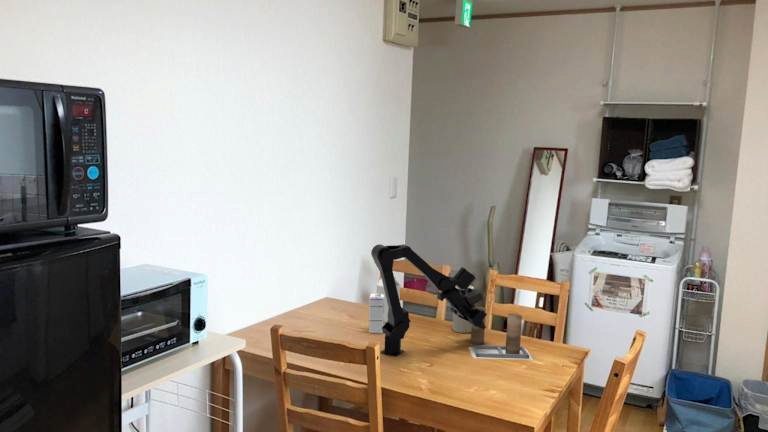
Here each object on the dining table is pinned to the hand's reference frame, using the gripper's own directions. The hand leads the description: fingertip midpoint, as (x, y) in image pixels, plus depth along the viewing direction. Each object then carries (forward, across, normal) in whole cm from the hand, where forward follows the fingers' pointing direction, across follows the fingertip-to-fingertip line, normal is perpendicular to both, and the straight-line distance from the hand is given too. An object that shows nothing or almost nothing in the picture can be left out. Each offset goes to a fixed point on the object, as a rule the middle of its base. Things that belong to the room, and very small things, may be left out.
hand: (481, 326), depth 238 cm
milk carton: (-11, +39, +21) cm, 46 cm away
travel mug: (+6, +18, +4) cm, 20 cm away
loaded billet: (+8, -15, +1) cm, 17 cm away
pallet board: (+6, -13, +4) cm, 15 cm away
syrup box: (-18, +26, +28) cm, 42 cm away
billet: (+4, 0, +6) cm, 7 cm away
